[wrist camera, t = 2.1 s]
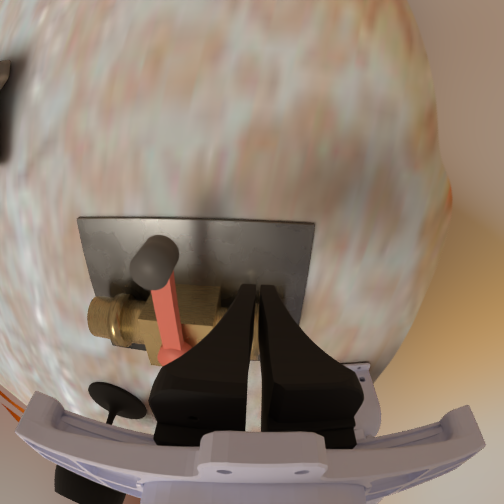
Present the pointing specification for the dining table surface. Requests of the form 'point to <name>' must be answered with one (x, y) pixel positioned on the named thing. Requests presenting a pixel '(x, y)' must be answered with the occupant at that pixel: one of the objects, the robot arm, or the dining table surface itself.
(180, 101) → the dining table surface
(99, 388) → the wine glass
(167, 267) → the lever
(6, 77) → the pipe fitting
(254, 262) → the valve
